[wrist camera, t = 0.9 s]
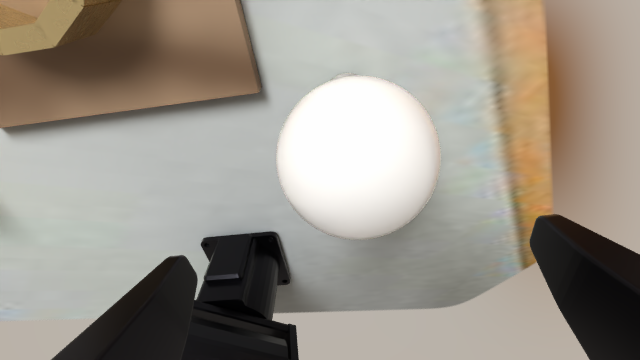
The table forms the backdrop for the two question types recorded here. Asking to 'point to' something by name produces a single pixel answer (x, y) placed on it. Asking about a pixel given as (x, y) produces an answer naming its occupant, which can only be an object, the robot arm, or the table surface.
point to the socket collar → (52, 24)
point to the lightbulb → (358, 157)
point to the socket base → (131, 62)
